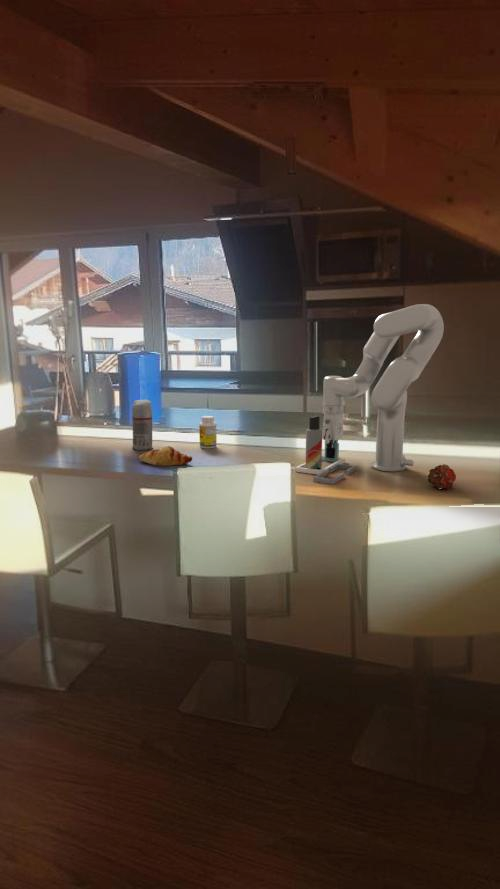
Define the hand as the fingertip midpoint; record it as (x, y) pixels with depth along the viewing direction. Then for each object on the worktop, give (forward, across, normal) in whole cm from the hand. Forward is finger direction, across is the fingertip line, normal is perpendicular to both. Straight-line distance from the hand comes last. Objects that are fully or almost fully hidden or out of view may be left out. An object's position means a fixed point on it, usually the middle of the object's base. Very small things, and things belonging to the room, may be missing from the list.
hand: (331, 456), depth 255 cm
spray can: (+2, -16, +76) cm, 78 cm away
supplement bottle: (+2, -2, +54) cm, 54 cm away
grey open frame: (+2, -20, -9) cm, 22 cm away
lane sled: (+2, -10, 0) cm, 11 cm away
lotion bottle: (+2, -18, 0) cm, 18 cm away
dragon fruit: (+2, -18, -45) cm, 48 cm away
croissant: (+2, -33, +53) cm, 62 cm away
